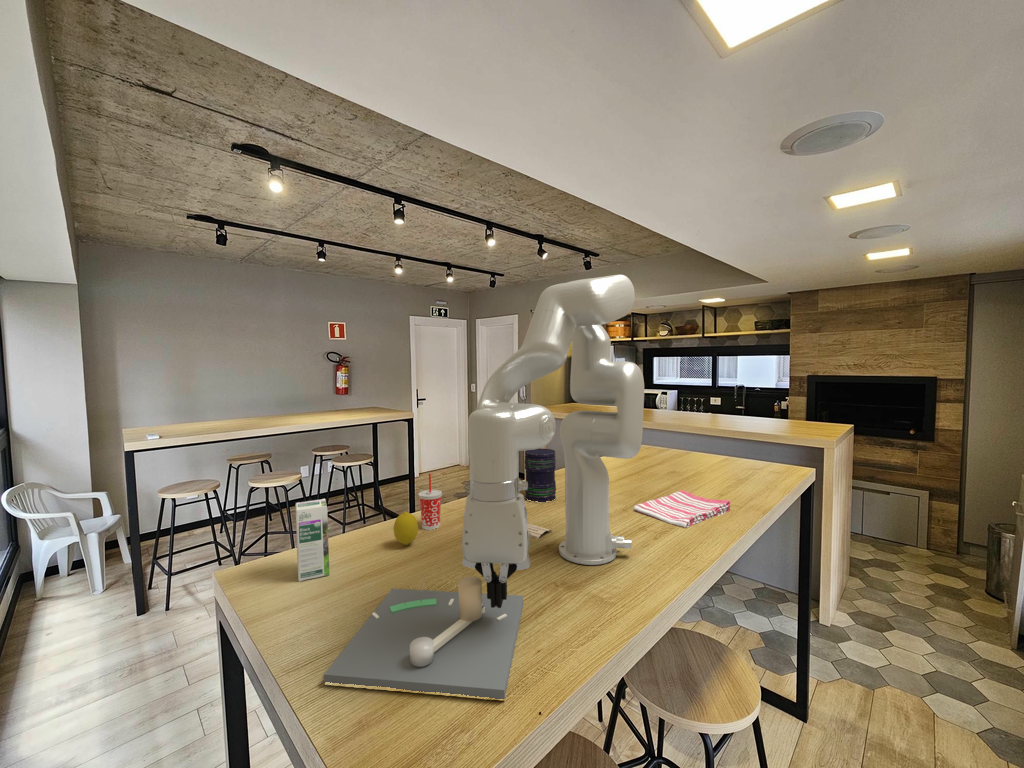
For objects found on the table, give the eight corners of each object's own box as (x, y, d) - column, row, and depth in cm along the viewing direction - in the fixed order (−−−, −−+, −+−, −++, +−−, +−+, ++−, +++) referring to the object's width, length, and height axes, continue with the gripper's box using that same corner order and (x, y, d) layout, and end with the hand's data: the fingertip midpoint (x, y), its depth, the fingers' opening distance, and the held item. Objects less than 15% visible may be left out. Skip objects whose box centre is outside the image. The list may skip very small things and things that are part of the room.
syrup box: (298, 582, 84) (295, 509, 83) (297, 570, 89) (295, 501, 88) (329, 575, 86) (327, 504, 86) (327, 564, 91) (325, 497, 91)
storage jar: (526, 493, 141) (526, 448, 140) (556, 494, 140) (556, 448, 139) (523, 502, 131) (522, 454, 131) (555, 503, 130) (554, 454, 129)
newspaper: (469, 521, 118) (469, 514, 118) (486, 514, 123) (486, 508, 123) (538, 542, 103) (538, 535, 103) (554, 533, 108) (554, 526, 108)
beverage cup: (421, 532, 108) (420, 478, 108) (416, 524, 114) (415, 472, 113) (445, 528, 111) (444, 475, 110) (439, 521, 116) (438, 470, 116)
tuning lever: (422, 670, 56) (421, 625, 56) (404, 660, 58) (402, 616, 58) (490, 614, 69) (490, 577, 68) (473, 608, 71) (472, 571, 70)
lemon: (412, 551, 97) (411, 516, 97) (389, 549, 98) (389, 515, 98) (422, 541, 103) (421, 508, 102) (400, 539, 104) (400, 507, 103)
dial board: (523, 604, 75) (523, 594, 75) (504, 701, 53) (504, 688, 53) (392, 596, 78) (392, 587, 78) (324, 685, 56) (323, 672, 56)
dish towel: (733, 511, 122) (733, 499, 121) (685, 531, 108) (685, 517, 108) (679, 497, 135) (679, 486, 135) (631, 513, 122) (631, 501, 122)
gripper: (543, 482, 69) (545, 592, 70) (453, 481, 71) (457, 588, 72) (541, 496, 62) (543, 619, 63) (440, 495, 64) (444, 614, 65)
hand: (497, 602), depth 67 cm, fingers closed
